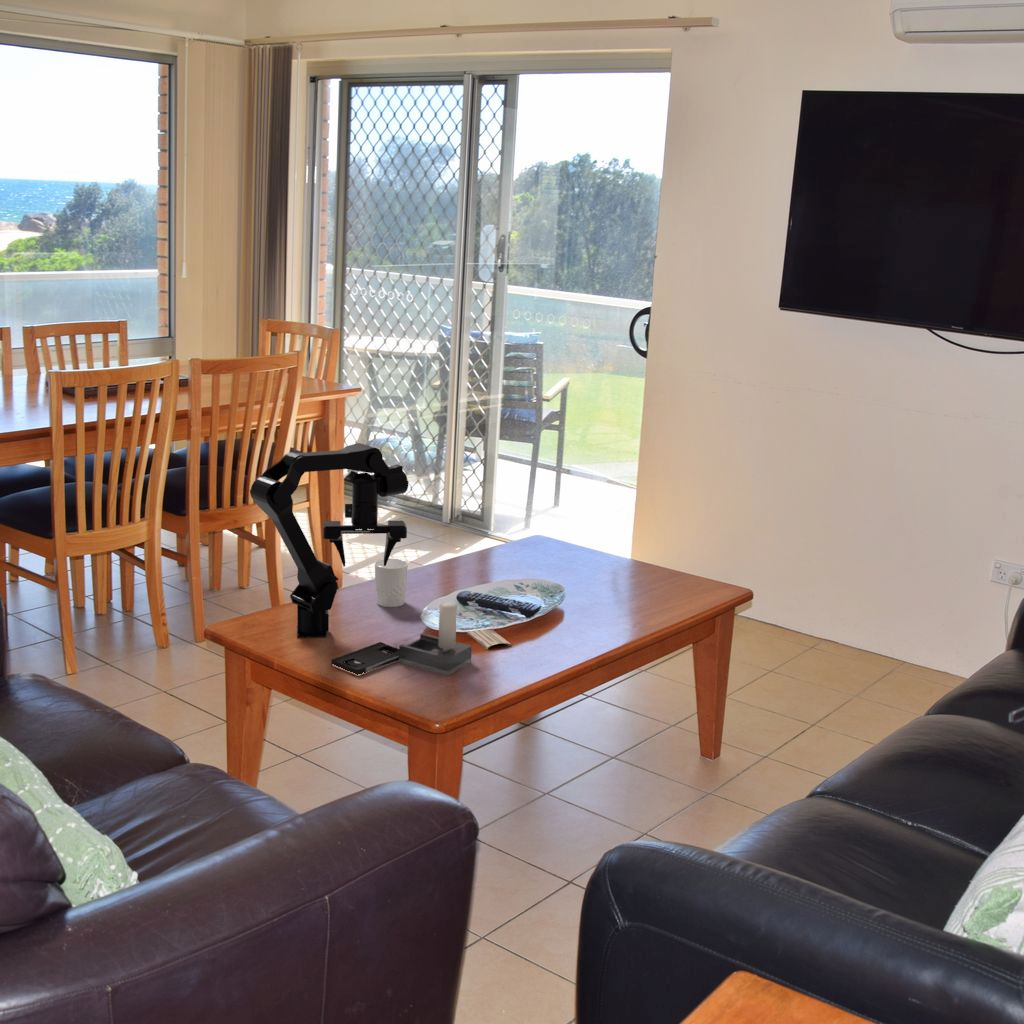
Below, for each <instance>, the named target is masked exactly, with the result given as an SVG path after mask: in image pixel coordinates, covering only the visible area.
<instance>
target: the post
mask: <svg viewBox="0 0 1024 1024" xmlns="http://www.w3.org/2000/svg"><path fill="white" fill-rule="evenodd" d="M457 609H458V605H457V603H455V602H452V601H451V602H450V601H445V602H444V601H443V602H441V603H439V611H438V612H439V616H438V617H439V618H438V637H439V639H438V646H439V647H440V648H442V649H443V651H446V652H447V651H448V650H450V649H452V648H455V644H456V642H457V641H456V640H457V625H456V618H457Z"/></svg>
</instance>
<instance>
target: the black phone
mask: <svg viewBox="0 0 1024 1024" xmlns="http://www.w3.org/2000/svg"><path fill="white" fill-rule="evenodd" d="M344 661H345V663H344ZM346 662H347V663H346ZM397 662H399V647H398V648H397V647H395V646H392V645H390V644H386V643H385V642H382V641H380V642H376V643H373V644H371V645H368V646H365V647H363V648H360V649H358V650H354V651H351V652H349V653H346V654H344V655H340V656H337V657H334V658H332V659H331V665H332V664H334V665H336V666H338V667H341V668H343V669H345V670H347V671H350V672H353V673H355V674H357V675H358V674H362V673H363V672H364V673H366V672H368V671H371V672H373V671H372V670H374V671H375V669H376V670H378V668H379V669H381V668H383V666H384V667H387V666H388V665H391V664H393V663H397ZM368 673H369V672H368ZM366 674H367V673H366Z"/></svg>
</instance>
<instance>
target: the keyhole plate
mask: <svg viewBox="0 0 1024 1024" xmlns="http://www.w3.org/2000/svg"><path fill="white" fill-rule="evenodd" d="M438 639H439V636H435V635H432V634H428V633H421V634H420V638H418V639H416V640H415V641H412V642H410V643H408V644H403V643H401V644H399V646H398V649H399V661H398V663H400V664H404V665H407V666H410V667H415V668H417V669H421V670H424V671H425V670H426V671H429V672H432V673H435V674H440V675H443V676H448V677H449V676H450V675H452V674H454V673H456V672H458V670H461V669H462V668H464V667H466V666H468V665H470V664H471V663H472V649H473V647H472V645H470V644H466V643H462V642H458V641H456V644H455V648H452V649H450V650H448V651H447V652H446V651H443V649H442V648H440V647H439V646H438Z"/></svg>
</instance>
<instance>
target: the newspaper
mask: <svg viewBox="0 0 1024 1024" xmlns="http://www.w3.org/2000/svg"><path fill="white" fill-rule="evenodd" d="M466 634H467V635H468V636H470V637H471V638H472V639H473V640H474V641H476V642H477V643H479V644H480V645H481V646H482V647H483V648H484V649H486V650H489V648H490V647H493V646H495V645H500V644H504V645H506V646H508V647H512V643H510V642H509V641H508V640H506V639H505V638H504V637H502V635H500V634H499V633H497V632H496V631H495V630H493V629H492V630H478V631H470V632H467V633H466Z"/></svg>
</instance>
